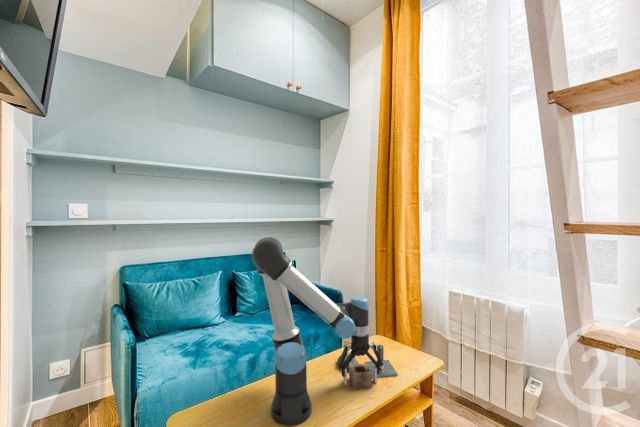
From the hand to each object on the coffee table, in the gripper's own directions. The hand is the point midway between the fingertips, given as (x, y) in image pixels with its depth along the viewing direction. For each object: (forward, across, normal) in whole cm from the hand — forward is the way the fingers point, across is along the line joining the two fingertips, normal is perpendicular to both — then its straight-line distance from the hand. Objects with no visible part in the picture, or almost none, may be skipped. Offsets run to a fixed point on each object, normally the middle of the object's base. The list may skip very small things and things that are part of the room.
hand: (360, 382), depth 128 cm
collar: (0, 0, 0) cm, 0 cm away
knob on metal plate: (0, +12, +9) cm, 15 cm away
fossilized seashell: (+1, -2, +14) cm, 15 cm away
